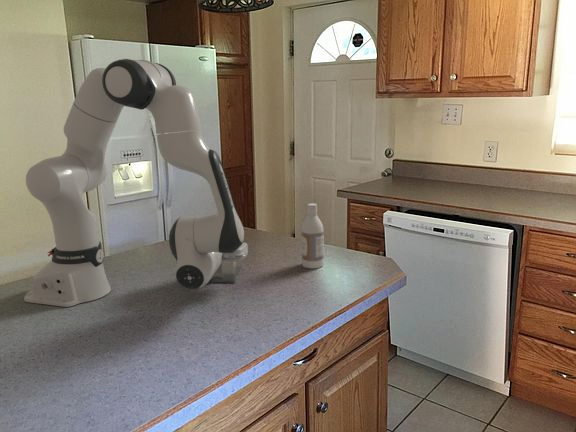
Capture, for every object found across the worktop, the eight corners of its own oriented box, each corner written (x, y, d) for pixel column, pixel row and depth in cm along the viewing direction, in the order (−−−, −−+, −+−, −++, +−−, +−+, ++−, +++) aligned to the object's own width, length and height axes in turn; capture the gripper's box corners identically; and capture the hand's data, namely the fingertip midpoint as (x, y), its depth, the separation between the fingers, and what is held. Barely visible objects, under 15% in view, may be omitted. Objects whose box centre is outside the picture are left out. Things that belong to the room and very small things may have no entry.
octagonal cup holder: (194, 282, 146) (193, 261, 145) (205, 268, 158) (204, 248, 156) (234, 282, 145) (233, 261, 143) (242, 268, 156) (241, 249, 155)
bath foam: (298, 263, 160) (297, 203, 155) (317, 260, 162) (317, 201, 158) (307, 270, 154) (306, 207, 149) (327, 267, 156) (327, 205, 151)
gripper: (243, 246, 135) (251, 232, 148) (170, 245, 137) (185, 232, 150) (243, 268, 136) (252, 253, 149) (171, 267, 138) (186, 252, 151)
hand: (218, 242), depth 150 cm, fingers closed on smoothie, 6 cm apart
